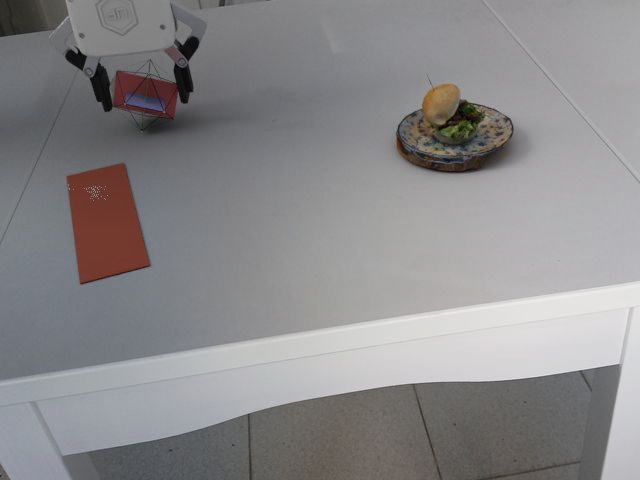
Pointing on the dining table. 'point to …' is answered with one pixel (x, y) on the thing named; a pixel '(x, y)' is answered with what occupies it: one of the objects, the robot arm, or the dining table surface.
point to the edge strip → (105, 224)
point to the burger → (451, 131)
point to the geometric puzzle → (144, 94)
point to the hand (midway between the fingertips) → (147, 102)
